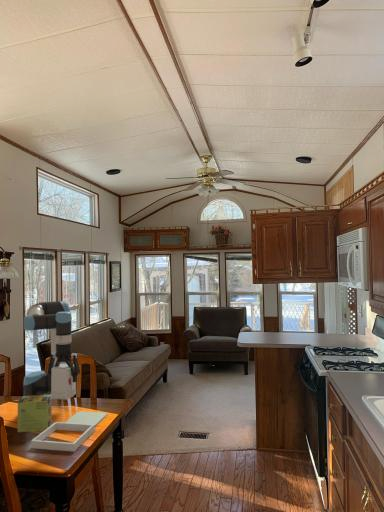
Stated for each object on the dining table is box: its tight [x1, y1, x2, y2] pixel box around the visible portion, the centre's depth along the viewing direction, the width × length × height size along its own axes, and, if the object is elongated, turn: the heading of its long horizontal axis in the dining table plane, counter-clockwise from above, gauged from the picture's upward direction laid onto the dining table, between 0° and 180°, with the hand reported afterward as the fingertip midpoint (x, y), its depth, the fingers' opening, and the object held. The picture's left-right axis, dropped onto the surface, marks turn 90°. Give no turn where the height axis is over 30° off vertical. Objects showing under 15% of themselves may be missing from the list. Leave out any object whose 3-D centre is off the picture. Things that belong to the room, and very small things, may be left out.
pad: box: [64, 410, 109, 428], centre depth 215 cm, size 18×18×1 cm
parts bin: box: [30, 421, 96, 453], centre depth 192 cm, size 22×22×4 cm
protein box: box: [17, 393, 53, 433], centre depth 207 cm, size 10×15×16 cm
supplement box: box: [50, 363, 77, 400], centre depth 193 cm, size 9×9×15 cm
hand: (64, 388), depth 193 cm, fingers closed on supplement box, 9 cm apart
